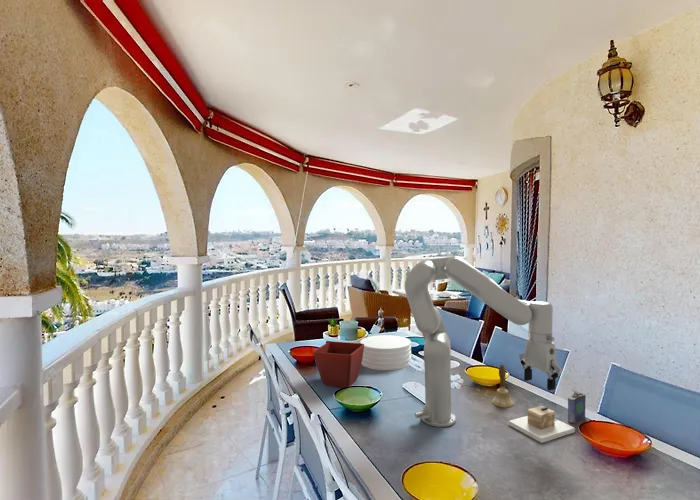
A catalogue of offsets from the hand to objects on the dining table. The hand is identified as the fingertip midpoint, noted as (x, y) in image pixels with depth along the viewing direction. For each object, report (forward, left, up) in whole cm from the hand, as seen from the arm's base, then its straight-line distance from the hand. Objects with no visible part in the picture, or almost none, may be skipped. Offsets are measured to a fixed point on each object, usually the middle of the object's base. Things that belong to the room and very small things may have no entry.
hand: (539, 384), depth 140 cm
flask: (+17, -1, -16) cm, 24 cm away
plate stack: (-11, +91, -16) cm, 93 cm away
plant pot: (-46, +75, -16) cm, 89 cm away
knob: (0, 0, -14) cm, 14 cm away
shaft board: (0, 0, -16) cm, 16 cm away
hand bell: (+4, +22, -16) cm, 27 cm away
